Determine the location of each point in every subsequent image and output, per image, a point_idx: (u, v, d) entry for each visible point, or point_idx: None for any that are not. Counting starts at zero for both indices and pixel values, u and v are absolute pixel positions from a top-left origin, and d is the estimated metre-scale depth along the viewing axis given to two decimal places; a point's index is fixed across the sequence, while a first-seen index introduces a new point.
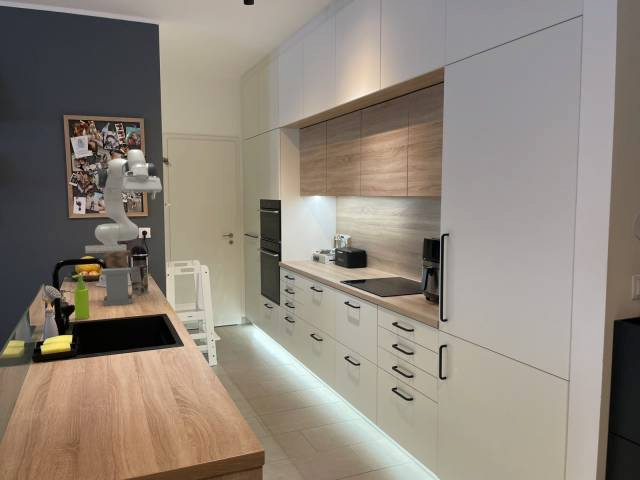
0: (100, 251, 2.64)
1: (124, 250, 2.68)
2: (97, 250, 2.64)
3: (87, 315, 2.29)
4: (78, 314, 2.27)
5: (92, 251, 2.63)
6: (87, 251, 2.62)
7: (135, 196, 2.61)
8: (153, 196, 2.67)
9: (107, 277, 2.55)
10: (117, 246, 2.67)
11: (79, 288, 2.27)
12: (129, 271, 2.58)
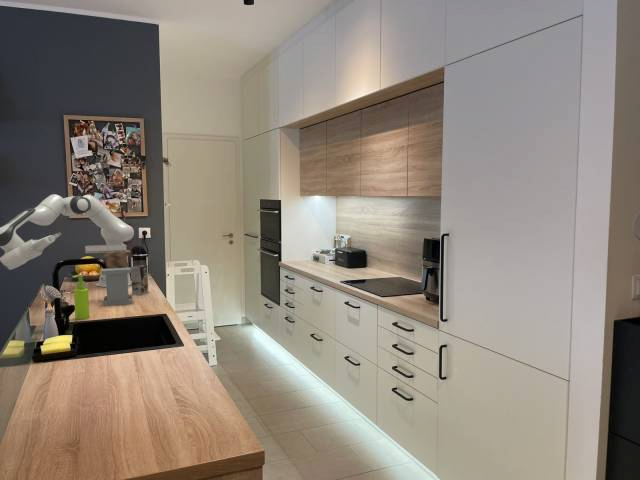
0: (100, 251, 2.64)
1: (124, 250, 2.68)
2: (97, 250, 2.64)
3: (87, 315, 2.29)
4: (78, 314, 2.27)
5: (92, 251, 2.63)
6: (87, 251, 2.62)
7: (59, 235, 2.63)
8: None
9: (107, 277, 2.55)
10: (117, 246, 2.67)
11: (79, 288, 2.27)
12: (129, 271, 2.58)
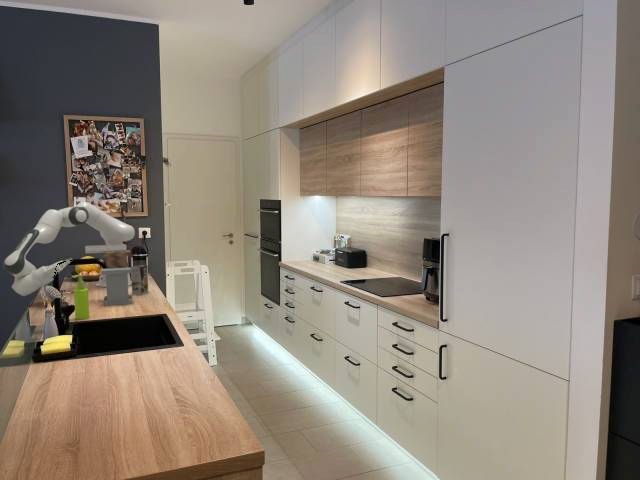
0: (100, 251, 2.64)
1: (124, 250, 2.68)
2: (97, 250, 2.64)
3: (87, 315, 2.29)
4: (78, 314, 2.27)
5: (92, 251, 2.63)
6: (87, 251, 2.62)
7: None
8: (68, 263, 2.57)
9: (107, 277, 2.55)
10: (117, 246, 2.67)
11: (79, 288, 2.27)
12: (129, 271, 2.58)
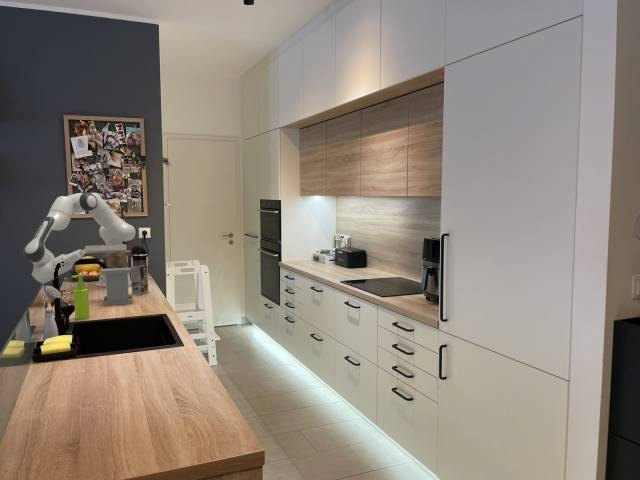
0: (100, 251, 2.64)
1: (124, 250, 2.68)
2: (97, 250, 2.64)
3: (87, 315, 2.29)
4: (78, 314, 2.27)
5: (92, 251, 2.63)
6: None
7: None
8: None
9: (107, 277, 2.55)
10: (117, 246, 2.67)
11: (79, 288, 2.27)
12: (129, 271, 2.58)
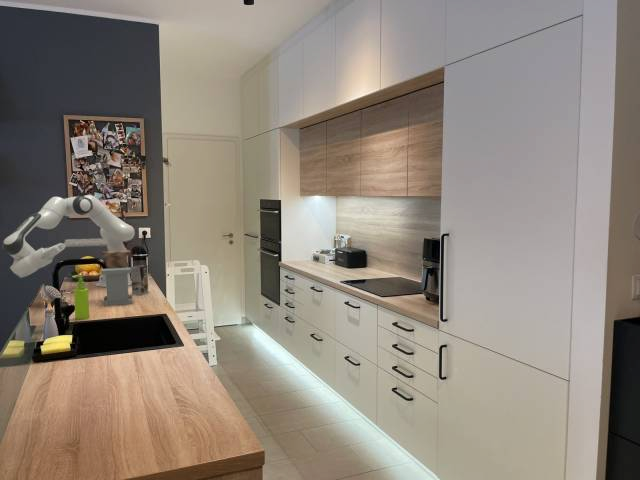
0: (80, 245, 2.60)
1: (105, 244, 2.64)
2: (77, 244, 2.59)
3: (87, 315, 2.29)
4: (78, 314, 2.27)
5: (72, 245, 2.59)
6: None
7: None
8: None
9: (107, 277, 2.55)
10: (98, 240, 2.63)
11: (79, 288, 2.27)
12: (129, 271, 2.58)
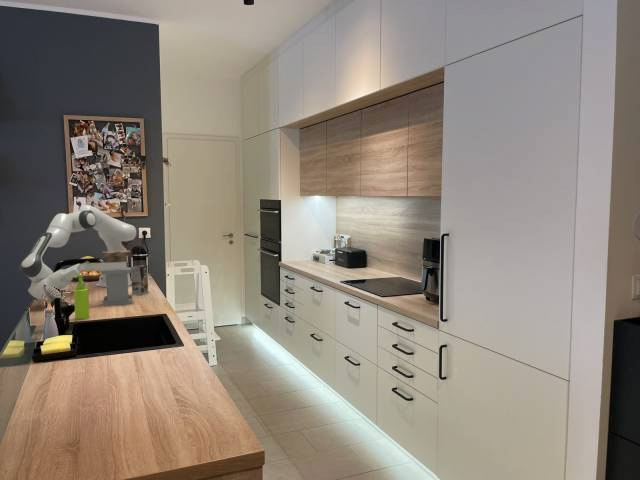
0: (99, 269, 2.55)
1: (124, 268, 2.59)
2: (96, 268, 2.54)
3: (87, 315, 2.29)
4: (78, 314, 2.27)
5: (91, 269, 2.53)
6: (86, 269, 2.52)
7: None
8: (86, 266, 2.51)
9: (107, 277, 2.55)
10: (117, 263, 2.57)
11: (79, 288, 2.27)
12: (129, 271, 2.58)
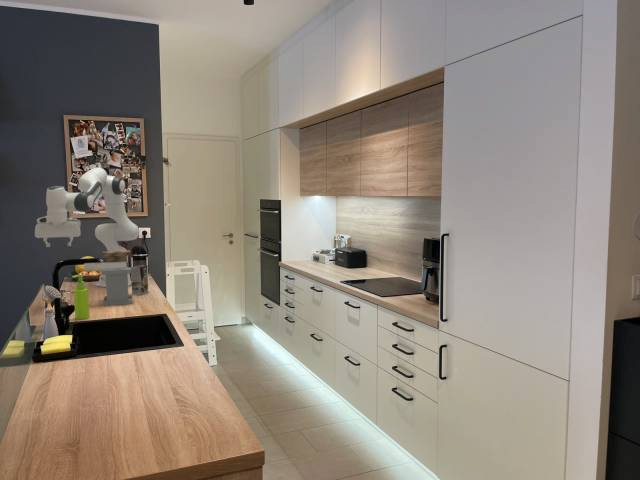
0: (99, 269, 2.55)
1: (124, 268, 2.59)
2: (96, 268, 2.54)
3: (87, 315, 2.29)
4: (78, 314, 2.27)
5: (91, 269, 2.53)
6: (86, 269, 2.52)
7: (47, 245, 2.47)
8: (68, 244, 2.50)
9: (107, 277, 2.55)
10: (117, 263, 2.57)
11: (79, 288, 2.27)
12: (129, 271, 2.58)
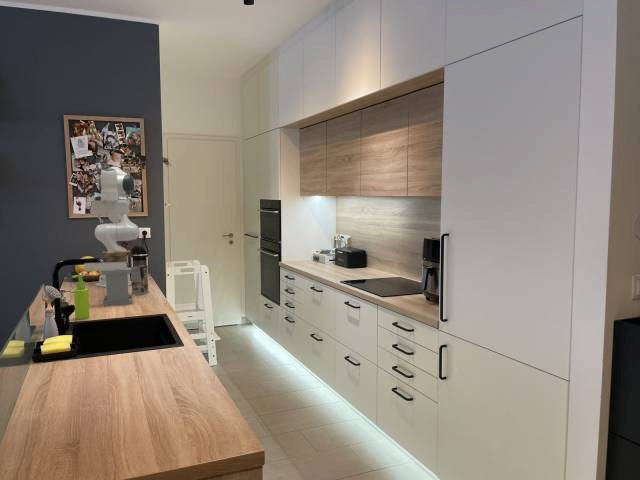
0: (99, 269, 2.55)
1: (124, 268, 2.59)
2: (96, 268, 2.54)
3: (87, 315, 2.29)
4: (78, 314, 2.27)
5: (91, 269, 2.53)
6: (86, 269, 2.52)
7: (101, 221, 2.76)
8: (119, 220, 2.79)
9: (107, 277, 2.55)
10: (117, 263, 2.57)
11: (79, 288, 2.27)
12: (129, 271, 2.58)
